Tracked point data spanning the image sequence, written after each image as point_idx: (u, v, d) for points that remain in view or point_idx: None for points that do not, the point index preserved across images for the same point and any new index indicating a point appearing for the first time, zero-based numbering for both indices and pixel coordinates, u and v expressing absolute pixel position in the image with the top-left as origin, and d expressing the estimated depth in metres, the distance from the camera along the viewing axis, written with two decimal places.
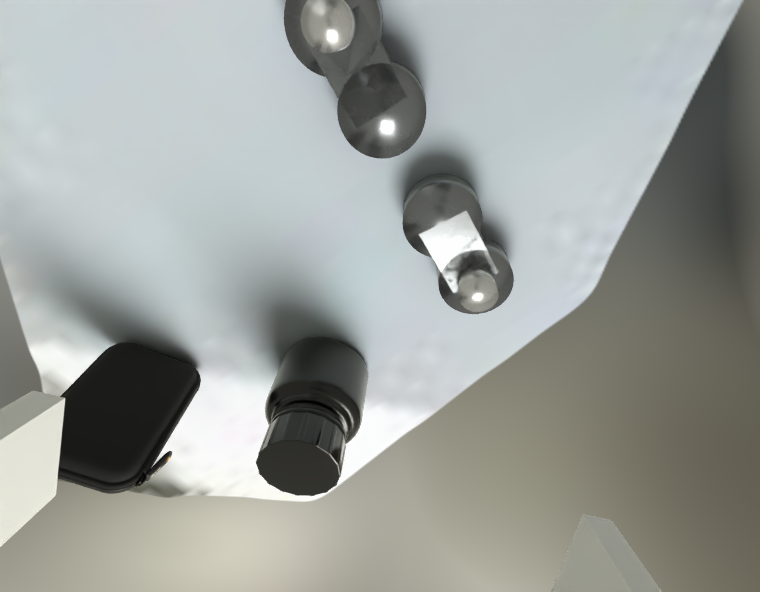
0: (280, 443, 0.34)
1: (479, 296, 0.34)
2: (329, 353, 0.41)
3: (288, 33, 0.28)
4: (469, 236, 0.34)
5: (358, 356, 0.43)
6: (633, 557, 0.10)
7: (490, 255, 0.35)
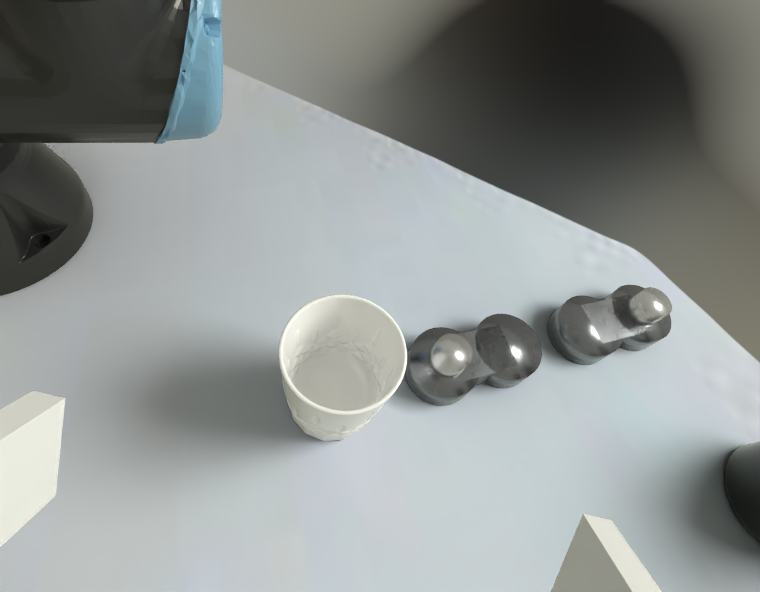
0: None
1: (657, 301, 0.41)
2: (746, 467, 0.36)
3: (447, 394, 0.35)
4: (601, 307, 0.42)
5: (740, 447, 0.39)
6: (633, 557, 0.10)
7: (616, 296, 0.43)
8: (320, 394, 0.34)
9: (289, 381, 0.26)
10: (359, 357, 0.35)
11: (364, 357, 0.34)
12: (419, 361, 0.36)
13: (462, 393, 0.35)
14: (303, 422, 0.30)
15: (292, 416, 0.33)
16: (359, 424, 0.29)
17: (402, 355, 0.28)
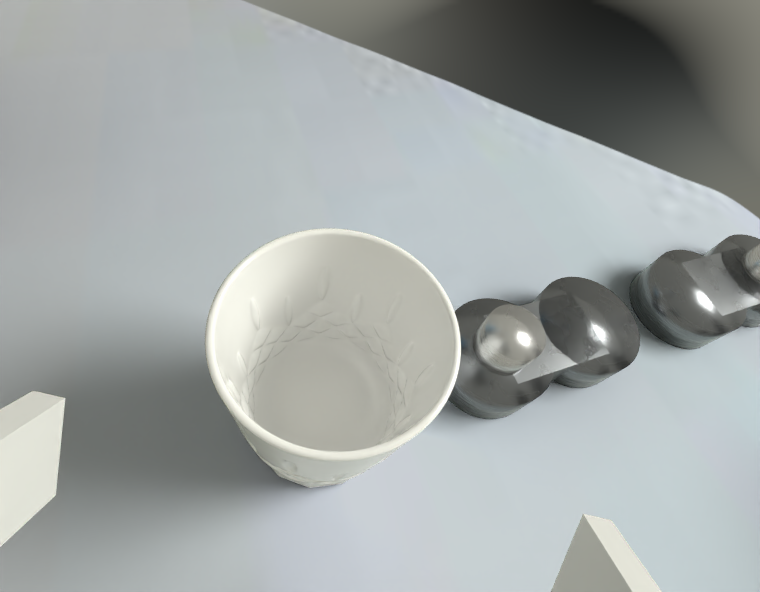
0: None
1: None
2: None
3: (507, 401, 0.22)
4: (709, 265, 0.29)
5: None
6: (633, 557, 0.10)
7: (725, 250, 0.30)
8: (302, 410, 0.20)
9: (226, 394, 0.12)
10: (364, 347, 0.21)
11: (372, 346, 0.21)
12: None
13: (530, 399, 0.22)
14: (270, 464, 0.17)
15: None
16: (371, 467, 0.16)
17: (450, 334, 0.15)
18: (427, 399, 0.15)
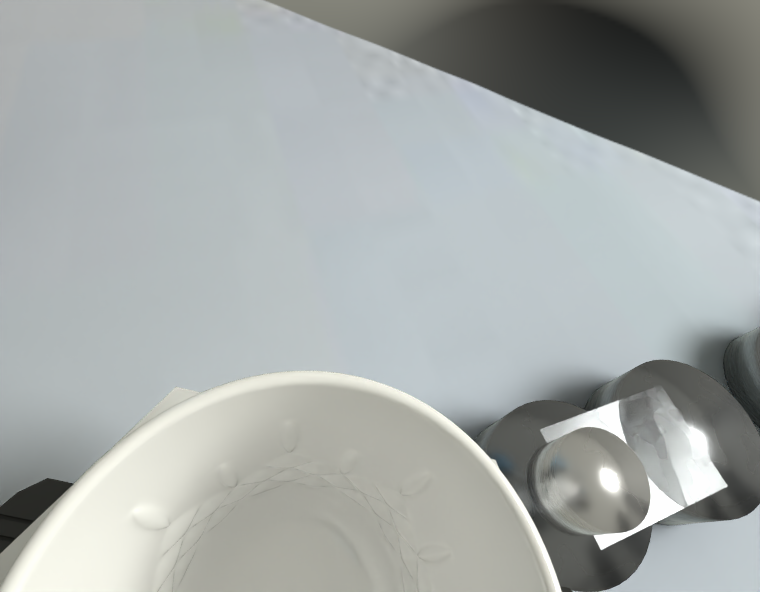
0: None
1: None
2: None
3: (587, 585, 0.14)
4: None
5: None
6: None
7: None
8: None
9: None
10: (361, 503, 0.13)
11: (374, 509, 0.13)
12: None
13: (622, 578, 0.14)
14: None
15: None
16: None
17: None
18: None
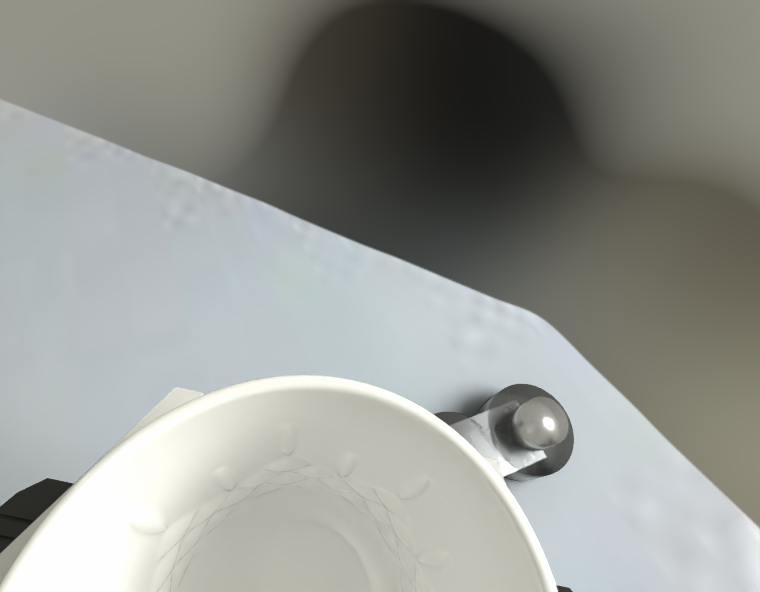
0: None
1: (547, 419, 0.28)
2: None
3: None
4: (471, 428, 0.29)
5: None
6: None
7: (495, 407, 0.30)
8: None
9: None
10: (359, 506, 0.13)
11: (373, 512, 0.13)
12: None
13: None
14: None
15: None
16: None
17: None
18: None
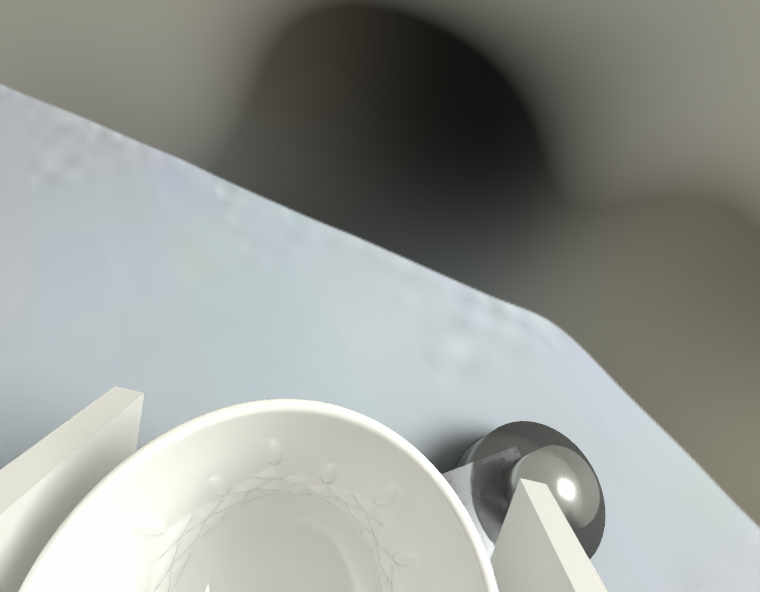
0: None
1: (565, 484, 0.17)
2: None
3: None
4: None
5: None
6: (559, 514, 0.11)
7: (482, 457, 0.19)
8: None
9: None
10: (343, 510, 0.14)
11: (355, 516, 0.14)
12: None
13: None
14: None
15: None
16: None
17: None
18: None
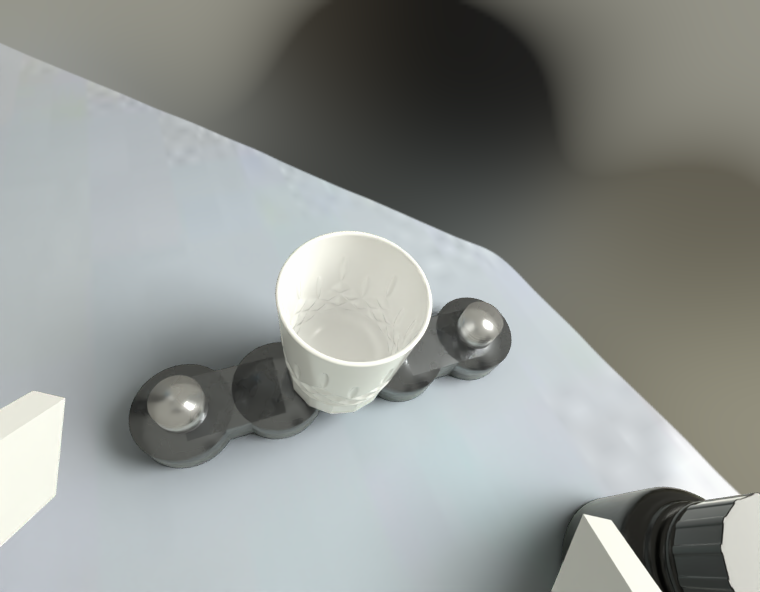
0: (738, 591, 0.19)
1: (485, 318, 0.32)
2: None
3: (170, 457, 0.26)
4: None
5: (587, 503, 0.31)
6: (633, 557, 0.10)
7: (443, 313, 0.34)
8: None
9: (290, 328, 0.21)
10: (370, 316, 0.30)
11: (376, 315, 0.29)
12: (142, 412, 0.27)
13: (193, 455, 0.26)
14: (307, 388, 0.26)
15: (293, 386, 0.28)
16: (375, 386, 0.24)
17: (426, 299, 0.23)
18: (411, 340, 0.23)
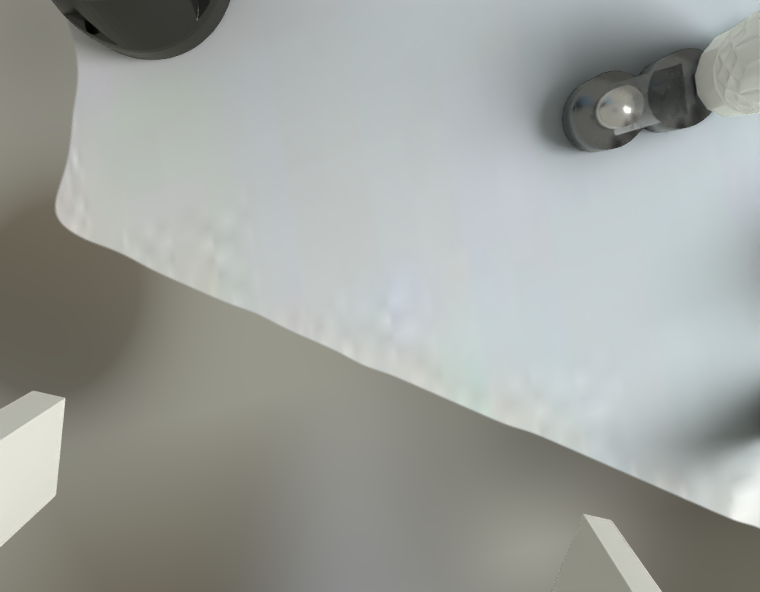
0: None
1: None
2: None
3: (604, 147, 0.37)
4: None
5: None
6: (633, 557, 0.10)
7: None
8: None
9: None
10: None
11: None
12: (583, 112, 0.36)
13: (619, 145, 0.37)
14: (740, 101, 0.33)
15: (703, 93, 0.35)
16: None
17: None
18: None
